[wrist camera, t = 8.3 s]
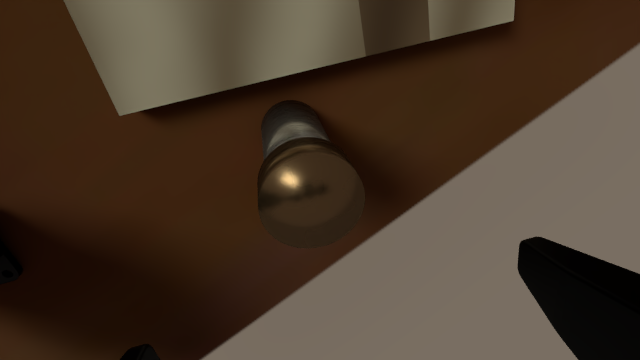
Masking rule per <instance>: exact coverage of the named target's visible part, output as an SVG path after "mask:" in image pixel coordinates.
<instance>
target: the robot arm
mask: <svg viewBox="0 0 640 360" xmlns="http://www.w3.org/2000/svg"><path fill="white" fill-rule="evenodd" d="M7 270H9V271H11V272H9V271H7ZM22 271H23V269H22V267H21V265H20V264H19V263H18V262H17V260H16V259H15V258H14V256H13V255H12V254H11V253H10V251H9V250H8V249H7V247H6V246H5V245H4V244H3V242H2V241H1V240H0V284H3V283H7V282H11V281H14V280H16V279H17V278H18V277H19V276H20V274H21V273H22ZM518 271H519V274H520V276H521V278H522V279H523V281H524V283H525V284H526V286H527V287H528V289H529V290H530V292H531V293H532V295H533V296H534V298H535V299H536V301H537V302H538V304H539V306H540V307H541V308H542V310H543V312H544V313H545V315H546V316H547V318H548V319H549V321H550V323H551V324H552V326H553V327H554V328H555V330H556V331H557V333H558V334H559V335H560V337H561V338H562V340H563V341H564V342H565V343H566V345H567V346H568V347H569V349H570V350H571V351H572V352H573V353H574V355H575V356H576V357H577V359H578V360H640V274H638V273H635V272H633V271H630V270H628V269H625V268H622V267H620V266H617V265H614V264H612V263H609V262H606V261H604V260H601V259H598V258H595V257H593V256H590V255H587V254H584V253H582V252H580V251H577V250H574V249H572V248H569V247H566V246H563V245H561V244H558V243H556V242H553V241H550V240H547V239H545V238H542V237H533V238H529V239H526V240H523V241H521V243H520V245H519V255H518ZM120 360H160V358H159V357H158V355H157V354H156V352H155V351H154V349H153V347H152V346H151V345H149V344H143V345H139V346H136V347H132V348H130V349H129V350H127V351H126V353H125V354H124V355H123V356H122V357H121V359H120Z"/></svg>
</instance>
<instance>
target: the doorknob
mask: <svg viewBox="0 0 640 360" xmlns="http://www.w3.org/2000/svg"><path fill="white" fill-rule="evenodd" d="M261 131H262V144H263V156H264V162H263V164H262V166H261V168H260V171H259V174H258V182H257V187H258V209H259V215H260V219H261V221H262V224H263V225H264V227H265V229H266V230H267V231H268V232H269V233H270V234H271V235H272V236H273V237H274V238H275V239H277V240H278V241H280V242H282V243H284V244H286V245H289V246H293V247H297V248H317V247H322V246H325V245H328V244H331V243H333V242H335V241H337V240H339V239H341V238H342V237H343V236H345V235H346V234H347V233H348V232H349V231H351V230H352V228H353V227H354V226H355V225H356V223H357V222H358V220H359V219H360V217H361V215H362V212H363V209H364V204H365V191H364V186H363V184H362V181H361V179H360V177H359V176H358V174H357V172H356V170H355V169H354V167H353V165H352V163H351V162H350V160H349V158H348V157H347V155H346V154H345V153H344V151H343V150H342V149H340V148H339V147H338V146H337V145H335V144H334V143H332V142H331V141H330V140H329V138H328V136H327V134H326V132H325V130H324V128H323V126H322V124H321V122H320V121H319V119H318V117H317V115H316V113H315V112H314V110H313V109H312V108H311V107H310V106H308V105H307V104H305V103H303V102H300V101H296V100H286V101H282V102H279V103H277V104H275V105H274V106H272V107H271V108H270V109H269V110H268V111H267V113H266V114H265V116H264V118H263V121H262V125H261Z"/></svg>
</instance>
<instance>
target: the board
mask: <svg viewBox="0 0 640 360" xmlns="http://www.w3.org/2000/svg"><path fill="white" fill-rule="evenodd" d="M64 2H65V4H66V6H67V8H68V11H69V13H70V15H71V17H72V19H73V21H74V23H75V25H76V27H77V29H78V31H79V33H80V35H81V37H82V39H83V42H84V44H85V46H86V48H87V50H88V52H89V54H90V56H91V58H92V60H93V62H94V64H95V66H96V68H97V70H98V73H99V75H100V77H101V79H102V81H103V83H104V85H105V87H106V89H107V91H108V93H109V95H110V97H111V99H112V101H113V103H114V106H115V108H116V110H117V112H118V114H119V116H121V115H125V114H129V113H133V112H137V111H142V110H146V109H150V108H154V107H158V106H162V105H166V104H171V103H175V102H179V101H183V100H187V99H191V98H195V97H200V96H204V95H208V94H212V93H216V92H220V91H224V90H229V89H233V88H237V87H241V86H245V85H249V84H253V83H258V82H262V81H266V80H270V79H274V78H278V77H282V76H287V75H291V74H295V73H299V72H303V71H307V70H311V69H316V68H320V67H324V66H328V65H332V64H336V63H340V62H345V61H349V60H353V59H357V58H361V57H365V56H369V55H374V54H378V53H382V52H386V51H390V50H394V49H398V48H403V47H407V46H411V45H415V44H419V43H423V42H427V41H432V40H436V39H440V38H444V37H448V36H452V35H456V34H461V33H465V32H469V31H473V30H477V29H481V28H485V27H490V26H494V25H498V24H502V23H506V22H510V21H514V6H515V0H64Z"/></svg>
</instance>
